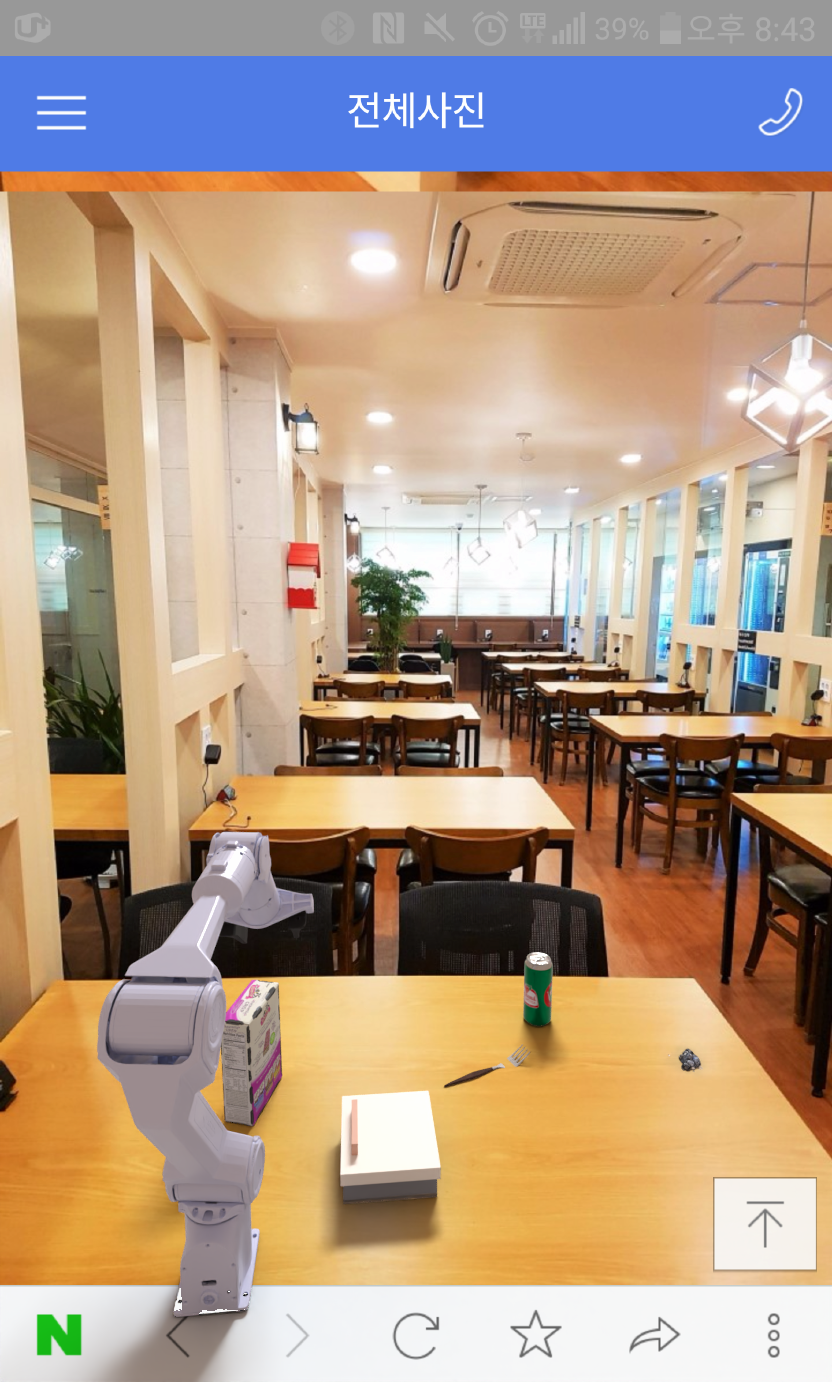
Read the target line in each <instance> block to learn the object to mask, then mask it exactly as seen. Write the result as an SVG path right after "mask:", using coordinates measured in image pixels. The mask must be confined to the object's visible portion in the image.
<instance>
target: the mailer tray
mask: <svg viewBox="0 0 832 1382" xmlns="http://www.w3.org/2000/svg"><path fill="white" fill-rule="evenodd" d="M342 1190H343V1191H342V1200H343V1202H342V1203H343V1204H342V1205H351V1204H364V1203H365V1204H366V1203H379V1202H380V1203H381V1202H388V1201H389V1202H390V1201H393V1202H394V1201H402V1200H415V1199H416V1200H417V1199H428V1198H429V1199H430V1198H437V1197H438V1179H432V1180H418V1181H405V1182H392V1183H378V1184H365V1185H352V1186H342Z"/></svg>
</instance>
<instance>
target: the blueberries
mask: <svg viewBox="0 0 832 1382" xmlns="http://www.w3.org/2000/svg"><path fill="white" fill-rule="evenodd" d="M670 1056H671V1054H667V1057H670ZM678 1060H679V1061H680V1063H681V1066H680V1068H681V1070H682V1072H684V1071H686V1072H691V1071H692V1072H693V1073H695V1070H697V1069H698V1070H704V1069H703V1067H702V1063H701V1061H700V1057H698V1055H696V1054H695V1053H694V1051H693V1050H691V1049H690V1048H686V1049H684V1050H683V1051H682V1054H680V1055H679V1056H678Z"/></svg>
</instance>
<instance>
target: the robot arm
mask: <svg viewBox="0 0 832 1382" xmlns="http://www.w3.org/2000/svg"><path fill="white" fill-rule="evenodd" d="M209 844H210V845H209V851H208V854H207V856H206V859H205V860H206V866H205V867H204V869H203V871H202V873H201V874H200V876H199V878H198V879H197V880H196V882H195V884H194V885H193V887H192V890H191V898H192V903H193V905H192V906H191V907H190V908H189V909H188V911H187V912H186V914H185V915H184V916H183V918H182V919H181V920H180V922H179V923H178V924H177V925H176V926H175V928H174V929H173V931H172V932H171V933H170V935H169V936H168V937H167V939H166V940H165V941H164V942H163V943H162V945H161V946H160V947H159V948H157V949H155V950H154V951H152V952H150V953H148V954H147V955H144V956H143V957H141V958H139V959H138V960H136V961H135V962H133V963H131V964H130V965H129V966H128V968H127V971H126V972H125V974H124V976H125V977H131V979H125V978H124V979H122V980H119V981H118V982H117V983H116V984H115V985H114V986H113V987H112V988H111V989H110V990H109V992H108V994H107V995H106V996H105V998H104V1001H103V1004H102V1006H101V1010H100V1013H99V1018H98V1025H97V1045H96V1046H97V1047H96V1050H97V1051H96V1052H97V1060H98V1061H99V1062H100V1063H101V1064H102V1066H104V1067H105V1069H106V1070H108V1072H109V1073H110V1074H111V1075H112V1076H113V1077H114V1078H115V1080H116V1081H118V1082H119V1083H120V1085H121V1088H122V1091H123V1093H124V1097H125V1100H126V1103H127V1107H128V1109H129V1112H130V1114H131V1118H132V1121H133V1124H134V1126H135V1128H136V1129H137V1130H138V1131H139V1132H140V1133H141V1134H142V1135H143V1136H144V1137H145V1138H146V1139H147V1140H148V1141H149V1142H150V1143H151V1144H152V1146H154V1148H156V1149H157V1150H158V1151H159V1152H160V1153H161V1154H162V1156H164V1157H165V1160H164V1164H163V1169H162V1173H161V1174H162V1182H164V1187H165V1192H166V1195H167V1197H168V1200H169V1201H170V1202H171V1203H175V1202H177V1205H178V1206H177V1207H178V1213H182V1214H184V1226H185V1227H184V1228H185V1229H184V1230H185V1234H184V1235H185V1242H184V1247H183V1250H182V1255H181V1258H180V1266H179V1271H180V1272H179V1273H180V1280H179V1281H180V1282H179V1284H178V1285H179V1286H178V1288H181V1297H182V1310H181V1309H179V1310H180V1311H178V1310H176V1311H173V1310H172V1313H173V1312H174V1316H173V1317H175V1316H176V1318H178V1317H179V1318H180V1317H189V1316H190V1317H191V1316H200V1315H199V1313H200V1312H202V1310H207V1311H215V1310H217V1309H223V1310H225V1309H227V1310H238V1311H237V1312H241V1311H240V1310H244V1309H245V1311H247V1310H248V1309H249V1307H250V1303H249V1301H251V1296H250V1295H251V1293H252V1289H251V1288H253V1281H254V1275H255V1266H256V1260H257V1254H258V1248H259V1243H260V1242H259V1241H260V1234H261V1233H260V1229H259V1228H255V1227H254V1228H252V1207H251V1206H252V1205H251V1204H252V1203H253V1201H255V1199H256V1198H257V1197H258V1195H259V1193H260V1191H261V1187H262V1182H263V1176H264V1171H265V1170H264V1169H265V1160H266V1148H265V1147H266V1146H265V1143H264V1141H263V1139H262V1138H261V1136H260V1135H254V1136H251V1135H248V1134H244V1133H240V1132H235V1131H230V1130H228V1129H227V1128H226V1127H225V1125H224V1123H223V1122H222V1121H221V1119H220V1118H219V1117H218V1115H217V1114H216V1112H215V1111H214V1109H213V1108H212V1106H211V1105H210V1103H209V1102H208V1100H207V1099H206V1098H205V1096H204V1094H203V1093H202V1090H204V1089H205V1088H207V1087H208V1086H210V1085H212V1084H213V1083H214V1082H215V1080H216V1072H217V1071H218V1068H219V1062H220V1057H221V1041H222V1034H223V1030H224V1025H225V1018H226V1012H227V998H226V997H227V996H226V992H225V990H224V987H223V980H222V975H221V972H220V970H219V969H218V966H216V965H215V964H214V962H213V961H212V960H211V959H212V957H213V954H214V951H215V947H216V945H217V943H218V940H219V937H220V938H223V937H224V938H225V937H227V938H231V939H234V940H235V941H237V942H238V943H241V944H243V945H244V944H248V934H249V933H248V932H249V930H248V928H250V929H257V930H258V929H264V928H267V927H269V926H272V925H274V924H276V923H279V922H280V921H284V920H285V919H288V924H287V926H288V928H287V929H288V931H289V930H290V931H291V932H292V936H293V938H294V939H298V938H300V932H301V930H302V929H305V928H306V925H307V914H314V912H315V910H314V909H315V908H314V906H315V905H314V900H315V899H314V897H313V894H312V893H305V892H304V891H303V890H302V891H299V890H298V891H292V890H286V889H282V888H279V887H277V886H276V883H275V881H274V878H273V875H272V871H271V867H272V857H271V855H270V840H269V835H268V834H267V835H263V834H262V832H259V831H257V832H250V831H249V832H247V831H246V832H244V831H242V832H241V831H238V832H237V831H223V832H221V833H220V832H216V833H214V835H213V836H212V838H211V841H210V843H209ZM228 1291H230V1292H228ZM244 1293H247V1294H248V1295H245V1296H243V1294H244ZM248 1306H249V1307H248ZM247 1308H248V1309H247ZM246 1309H247V1310H246Z"/></svg>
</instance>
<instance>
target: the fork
mask: <svg viewBox="0 0 832 1382" xmlns="http://www.w3.org/2000/svg"><path fill="white" fill-rule="evenodd" d="M522 1047H523V1044H521V1045H520V1046H519V1047H518V1048H517V1049H516V1050H515V1051H514V1052H513V1053H511V1054H510V1055H509V1056H508V1057H507V1058H506V1060H508V1061H509V1062H510V1063H511V1064H512V1065H513V1066H514V1067H516V1068H517V1067H518V1066H520V1065H521V1064H522V1062H523V1061H524V1060H525V1059H526V1058H527V1057H528V1056H530V1055H529V1054H531V1051H529V1050H528V1049H529V1048H527V1049H526V1046H524V1047H523V1048H522ZM521 1048H522V1049H521ZM520 1049H521V1050H520ZM525 1049H526V1050H525ZM519 1050H520V1051H519ZM524 1050H525V1051H524ZM518 1051H519V1052H518ZM523 1051H524V1052H523ZM527 1051H529V1052H527ZM517 1052H518V1053H517ZM522 1052H523V1053H522ZM516 1053H517V1054H516ZM521 1053H522V1054H521ZM526 1053H527V1054H526ZM515 1054H516V1055H515ZM520 1054H521V1055H520ZM525 1054H526V1055H525ZM524 1055H525V1056H524ZM523 1056H524V1057H523ZM522 1057H523V1058H522ZM519 1060H520V1061H519ZM505 1068H506V1067H505V1065H504V1064H503V1063H500V1062H499V1064H497V1065H494V1066H491V1067H487V1068H482V1069H479V1070H475V1071H472V1072H469V1073H466V1074H465V1075H463V1076H461V1077H458V1078H456V1079H454V1080H451V1081H450V1082H448V1083H446V1084H444V1086H443V1087H444V1088H445V1087H446V1088H447V1087H450V1086H455V1085H457V1084H460V1083H465V1082H467V1081H468V1082H469V1081H472V1080H475V1079H477V1078H480V1077H482V1076H484V1075H487V1074H488V1073H490V1072H492V1071H494V1070H496V1069H505Z"/></svg>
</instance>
